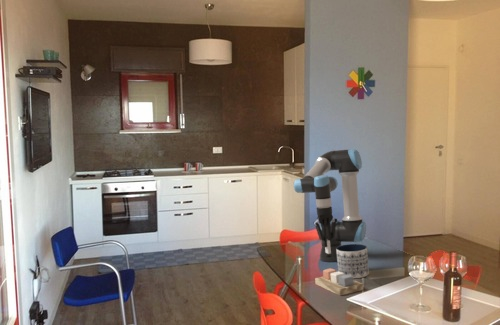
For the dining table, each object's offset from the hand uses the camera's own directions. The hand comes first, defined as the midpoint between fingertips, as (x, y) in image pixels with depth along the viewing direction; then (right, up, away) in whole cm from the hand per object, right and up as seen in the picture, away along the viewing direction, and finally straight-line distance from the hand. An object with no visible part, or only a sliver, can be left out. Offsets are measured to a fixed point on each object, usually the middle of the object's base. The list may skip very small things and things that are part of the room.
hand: (328, 252), depth 237 cm
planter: (+15, -14, +12) cm, 24 cm away
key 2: (+7, -14, -12) cm, 20 cm away
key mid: (+4, -14, -6) cm, 15 cm away
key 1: (+1, -14, 0) cm, 14 cm away
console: (+4, -15, -6) cm, 17 cm away
